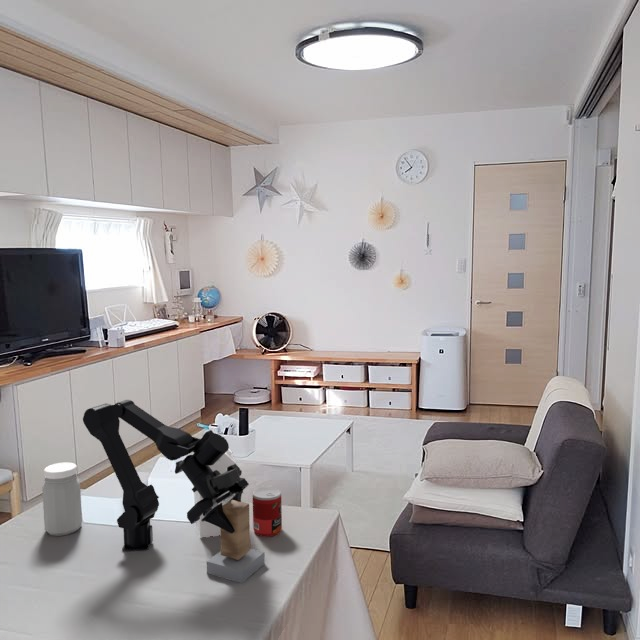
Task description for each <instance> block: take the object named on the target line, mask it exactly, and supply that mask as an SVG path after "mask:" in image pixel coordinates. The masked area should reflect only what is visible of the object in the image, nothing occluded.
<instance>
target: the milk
mask: <svg viewBox="0 0 640 640" xmlns="http://www.w3.org/2000/svg"><path fill="white" fill-rule="evenodd" d="M215 433H216V434H218V433H217V432H215ZM233 464H236V465H237V466H238V467H239V464H238V462H237V460H236V459H235V456H234V455H233V452H232V450H231V449H230V448H229V449H228V451H227V452H226V453H225V454H224V455H223V456H222V457H221V458H220V459H219V460H218V461H217V462H216V463H215V464H214V465H211V466H209V467H210V468H211V469H212V471H215V470H217V471H219V472H220V474H222V473H225V472H227V468H228V467H229V466H231V465H233ZM202 499H203V498H202V497H201V495H200V494H199V493H198V491H196V492H195V504H196V503H197V502H199V501H201V500H202ZM220 503H222V506H223V505H225V504H226V503H225V501H224V500H223V501H222V502H220ZM220 503H218V505H219V504H220ZM203 518H204V516H203V514H202V515H201V516H200V519H199V520H198V521H196V522H195V525H196V527H197V532H199V533H198V536H200V537H199V539H203V538H202V537H206V538H211V537H210V536H213V537H220V536H221V531H220V527H218V526H216V525H213V524H211V523H209V522H206V521H203V522H202V521H201V520H202V519H203ZM219 535H220V536H219Z"/></svg>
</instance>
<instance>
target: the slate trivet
mask: <svg viewBox="0 0 640 640" xmlns="http://www.w3.org/2000/svg"><path fill="white" fill-rule="evenodd" d="M265 563H266V562H265V551H261V550H257V549H253V548H250V551H249V552H248V553H246V554H245V555H244V556H243V557H241V558H240V559H239V560H237V559H233V558H230V557H226V556H222V555H221V550H219V551H218V552H217V553H216V554H215V555H213V556H212V557H210V558H209V559H208V560H207V561H206V574H208V573H209V574H208V575H211V574H213V575H212V576H215V575H216V576H215V577H218V576H219V578H222V579H226V580H230V581H233V582H236V583H240V584H242V583H244V582H245V581H246V580H247V579H249V577H250V576H252V575H253V574H254V573H255V572H257V571H258V570H259V569H260V568H261V567H263V566H264V565H265Z"/></svg>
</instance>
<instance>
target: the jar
mask: <svg viewBox="0 0 640 640" xmlns="http://www.w3.org/2000/svg"><path fill="white" fill-rule="evenodd" d="M77 471H78V466H77V464H76V463H74V462H68V461H67V462H66V461H65V462H56V463H52V464H50V465H47V466H46V467H44V469H43V475H44V477H45V478H44V482H43V484H42V487H41V489H42V490H41V491H42V505H43V506H42V509H43V521H44V522H43V523H44V531H46V532H47V533H48V534H49V535H50V536H57V537H59V536H67V535H71V534H73V533H75V532H76V531H77V530H79V529H80V528H81V526H82V525H83V513H82V509H83V508H82V493H81V479H79V478H78V473H77Z"/></svg>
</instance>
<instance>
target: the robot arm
mask: <svg viewBox="0 0 640 640" xmlns="http://www.w3.org/2000/svg"><path fill="white" fill-rule="evenodd" d="M120 420H123V421H124V422H125V423H127V424H128V425H130V426H131V427H132V428H134V429H135V430H137V431H138V432H140V433H141V434H143V435H144V436H145V437H147V438H148V439H150V440H151V441H152V442H154V443H155V446H156V448H157V451H159V453H161V455H163V456H164V457H165V458H166V459H167V460H169V461H176V460H179V459H181V458H182V457H185V458H184V459H181V460H179V461H176V463H175V468H174V469H175V470H174V473H175V475H177V474H180V473H181V472H183V473H184V474H185V476H186V477H187V479H188V480H189V482H190V483H191V485H192V486H193V487H192V488H191V491H192V492H193V493H196V491H198V493H199V494H200V495H201V497H202V498H203V499H202V500H201V501H199V502H197V503H196V502H195V504H194V505H193V506H192V507H191V508H190V509H189V510H188V511H187V512H186V514H187V515H186V519H187V520H188V521H189V522H190V524H191V525H194V523H195V524H196V521H198V520H199V519H200V516H201V515H202V514H203V516H204V518H203V519H202V520H201V521H202V522H203V521H206V522H209V523H211V524H213V525H216V526H218V527H220V528H222V529H224V530H225V531H227V532H229V533H231V534H232V533H233V532H235V530H234V528H233V526H232V524H231V523H230V521H229V520H228V518H227V517H226V515H225V514H224V512H223V508H222V503H220V502H222V501H223V500H224V501H225V503H228V502H229V501H231V500H235V501H240V502H242V494H244V490H245V489H246V488H247V487H248V486H249V482H248V481H247V479H246V478H244V477H241V476H242V474H243V473H242V469H241V468H240V467H239V465H238V466H237V465H236V464H233V465H231V466H229V467H228V468H227V472H225V473H222V474H220V472H219V471H217V470H215V471H212V469H211V468H210V467H209V466H211V465H214V464H215V463H216V462H217V461H218V460H219V459H220V458H221V457H222V456H223V455H224V454H225V453H226V452H227V451H228V449H230V448H229V447H230V446H229V442H228V441H227V438H225V437H224V436H222V435H220V434H218V433H217V432H213V430H212V429H210V430H208V431H206V432H204V434H203V435H202V437H200V438H199V437H195V436H192V435H191V434H190V433H189V432H187V431H184V430H183V429H181V428H178V427H172V426H168V425H166V424H164V422H161V421H160V420H159V419H157V418H155V417H154V416H153V415H151V414H150V413H148V412H146V411H145V410H144V409H143V408H141V407H140V406H138V405H137V404H135V402H134V401H133V400H131V399H124V400H122V401H118V402H116V403H115V404H111V403H103V404H99V405H96V406H92V407H91V408H87V409H86V410H85V411H84V413H83V417H82V421H83V424H84V426H85V428H86V429H87V431H88V432H89V434H90V435H91V436H93V437H94V438H96V440H98V441H99V442H100V444H101V445H102V448H103V450H104V452H105V453H106V456H107V458H108V460H109V463H110V465H111V467H112V469H113V472H114V474H115V476H116V478H117V481H118V483H119V485H120V487H121V489H122V494H123V495H122V507H123V510H124V511H123V512H122V514H121V515H120V516H118V518H117V519H116V523H117V525H118V528H121V529H123V546H122V548H121V549H122V551H124V552H125V551H146V550H148V549H149V547H150V545H152V542H153V539H154V535H153V534H154V533H153V524H151V519H153V518H155V514H156V512H158V509H159V506H160V501H159V498H160V496H159V495H158V494H157V492H156V490H155V486H153V484H149V485H147V484H145V483H144V482H142V480H141V478H140V476H139V474H138V472H137V469H136V468H135V465H134V462H133V461H132V459H131V456H130V454H129V452H128V450H127V448H126V446H125V443H124V442H123V438H122V436H121V435H120V424H121V423H120V422H121V421H120ZM216 433H217V434H216ZM192 453H193V454H192ZM218 503H220V504H219V505H218Z"/></svg>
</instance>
